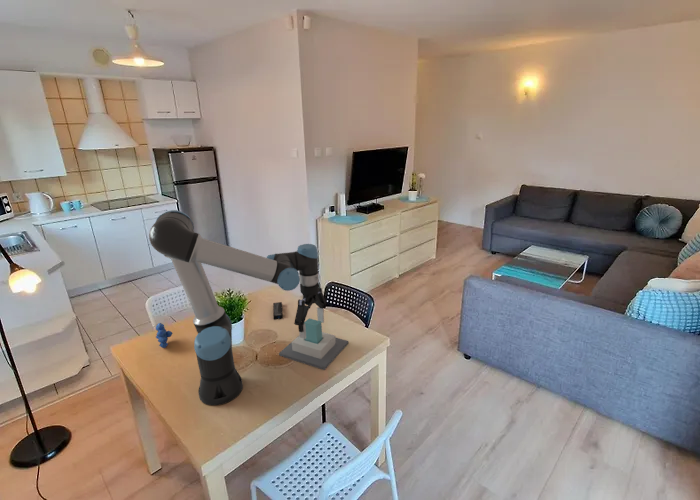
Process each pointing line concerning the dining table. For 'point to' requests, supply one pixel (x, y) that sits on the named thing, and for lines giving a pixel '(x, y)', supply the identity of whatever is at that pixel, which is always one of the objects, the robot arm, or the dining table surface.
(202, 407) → the dining table surface
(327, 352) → the socket block
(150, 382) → the dining table surface
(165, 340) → the grapes
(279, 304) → the multiport hub
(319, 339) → the teal peg
